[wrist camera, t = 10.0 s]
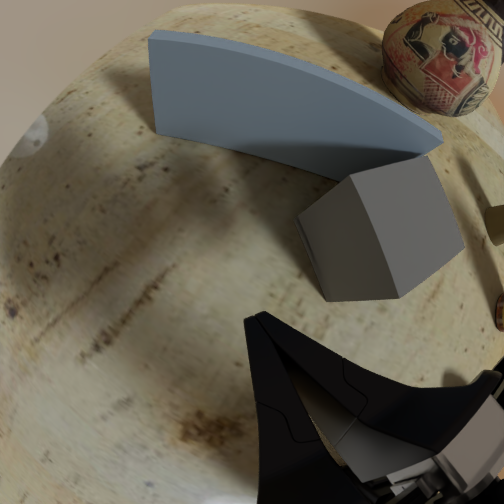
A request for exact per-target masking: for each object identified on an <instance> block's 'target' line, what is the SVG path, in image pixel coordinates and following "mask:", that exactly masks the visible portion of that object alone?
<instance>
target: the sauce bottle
mask: <svg viewBox="0 0 504 504" xmlns="http://www.w3.org/2000/svg"><path fill="white" fill-rule="evenodd" d="M496 324H497V328H498V329H499V331H501V332H504V293H503V294H502V295H501V296H500V298H499V299H498V302H497V309H496Z"/></svg>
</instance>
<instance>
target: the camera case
mask: <svg viewBox="0 0 504 504" xmlns="http://www.w3.org/2000/svg"><path fill="white" fill-rule="evenodd" d="M293 221H294V223H295V225H296V227H297V230H298V232H299V235H300V237H301V239H302V242H303V244H304V246H305V249H306V251H307V254H308V256H309V259H310V261H311V263H312V266H313V268H314V271H315V273H316V276H317V278H318V281H319V284H320V286H321V289H322V291H323V294H324V296H325V299H326V302H343V301H366V300H384V299H400V298H401V297H402V296H404V295H405V294H407V293H408V292H409V291H411V290H412V289H414V288H415V287H416V286H418V285H419V284H420V283H422V282H423V281H424V280H426V279H427V278H428V277H430V276H431V275H432V274H433V273H435V272H436V271H437V270H439V269H440V268H441V267H442V266H444V265H445V264H446V263H447V262H449V261H450V260H451V259H452V258H453V257H455V256H456V255H457V254H458V253H459V252H461V251H462V250H463V249H464V248H465V246H464V243H463V240H462V237H461V234H460V231H459V228H458V225H457V222H456V219H455V217H454V214H453V211H452V209H451V206H450V204H449V201H448V199H447V196H446V194H445V192H444V189H443V187H442V185H441V183H440V180H439V178H438V176H437V174H436V172H435V170H434V168H433V166H432V164H431V162H430V160H429V158H428V156H423V157H419V158H414V159H410V160H406V161H402V162H398V163H393V164H389V165H385V166H382V167H378V168H374V169H370V170H366V171H362V172H358V173H355V174H351V175H349V176H348V177H346V178H345V179H344V180H343V181H341V182H340V183H339V184H337V185H336V186H335V187H334V188H332V189H331V190H330V191H329V192H327V193H326V194H325V195H324V196H322V197H321V198H320V199H318V200H317V201H316V202H315V203H313V204H312V205H311V206H310V207H308V208H307V209H306V210H305V211H303V212H302V213H301V214H299V215H298V216H297V217H296V218H294V219H293Z"/></svg>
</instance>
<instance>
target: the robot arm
mask: <svg viewBox="0 0 504 504" xmlns="http://www.w3.org/2000/svg"><path fill="white" fill-rule="evenodd" d="M243 322H244V329H245V336H246V343H247V350H248V357H249V364H250V371H251V377H252V384H253V391H254V397H255V402H256V403H255V404H256V411H257V419H258V431H259V481H258V495H257V504H504V479H502V480H500V479H499V477H498V476H497V475H498V473H499V472H500V471H501V469H502V468H503V467H504V356H503V357H502V358H501V359H500V360H499V361H498V363H497V364H496V365H495V366H494V368H493V369H492V370H483V371H482V372H481V373H480V374H479V375H478V376H477V377H476V378H475V379H474V380H473V381H472V382H471V383H470V384H469V385H466V386H458V387H436V388H418V387H411V386H407V385H404V384H402V383H399V382H396V381H394V380H391V379H389V378H386V377H383V376H381V375H378V374H376V373H374V372H371V371H369V370H367V369H364V368H362V367H360V366H358V365H357V364H355V363H353V362H351V361H349V360H347V359H346V358H342V356H340V355H338V354H337V353H335V352H333V351H331V350H330V349H328V348H326V347H325V346H323V345H321V344H319V343H318V342H316V341H314V340H313V339H311V338H309V337H307V336H306V335H304V334H302V333H301V332H299V331H297V330H296V329H294V328H292V327H291V326H289V325H287V324H286V323H284V322H283V321H281V320H279V319H278V318H276V317H274V316H273V315H271V314H269V313H268V312H266V311H262V312H260V313H257V314H255V315H254V316H250V317H248V318H245V319H244V320H243ZM309 415H310V416H311V418H312V419H313V421H314V422H315V423H316V425H317V426H318V427H319V429H320V430H321V431H322V432H323V434H324V435H325V436H326V438H327V439H328V440H329V442H330V443H331V444H332V446H333V447H334V448H335V450H336V451H337V452H338V453H339V455H340V456H341V457H342V458H343V460H344V461H345V462H346V463H347V465H348V466H343V467H340V466H339V465H338V464H337V463H336V461H335V460H334V459H333V458H332V456H331V455H330V454H329V452H328V451H327V449H326V447H325V446H324V444H323V442H322V440H321V438H320V436H319V434H318V432H317V430H316V428H315V426H314V424H313V422H312V420H311V418H310V416H309ZM438 492H440V493H438Z"/></svg>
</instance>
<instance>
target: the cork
mask: <svg viewBox="0 0 504 504" xmlns="http://www.w3.org/2000/svg"><path fill="white" fill-rule="evenodd" d="M485 223H486V228H487V232H488V235H489V237H490V240H491V241H492V243H493V244H494V245H495V246H498V245H501V244H503V243H504V205H499V206H494V207H489V208H487V209H486V212H485Z"/></svg>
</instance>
